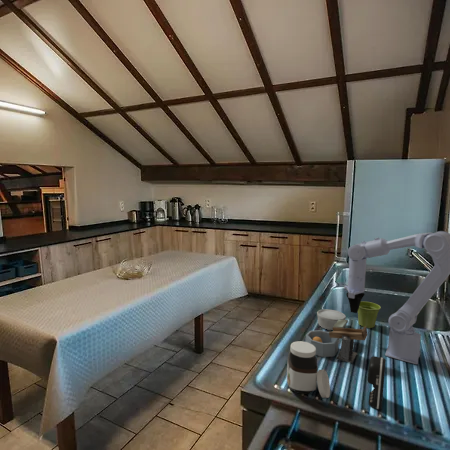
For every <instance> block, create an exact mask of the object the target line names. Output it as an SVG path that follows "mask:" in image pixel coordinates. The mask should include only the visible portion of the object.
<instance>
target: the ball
mask: <svg viewBox="0 0 450 450" xmlns="http://www.w3.org/2000/svg"><path fill="white" fill-rule="evenodd" d="M312 340H314V341H318V342H321V343H322V339H321V338H319V337H314V338H313V339H312Z"/></svg>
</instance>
